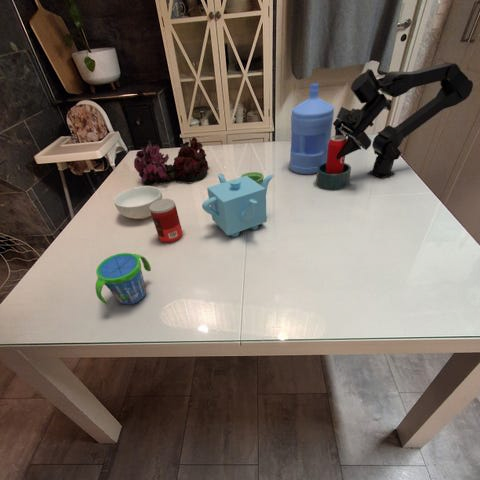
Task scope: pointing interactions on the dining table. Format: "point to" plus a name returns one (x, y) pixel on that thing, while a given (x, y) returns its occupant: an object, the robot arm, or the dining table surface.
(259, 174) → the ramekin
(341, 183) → the pot
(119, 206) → the cereal bowl
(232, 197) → the teakettle
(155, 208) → the canned food
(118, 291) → the snack cup
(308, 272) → the dining table surface
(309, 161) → the water jug
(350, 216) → the dining table surface
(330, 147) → the beverage can
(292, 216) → the dining table surface
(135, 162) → the flower arrangement
